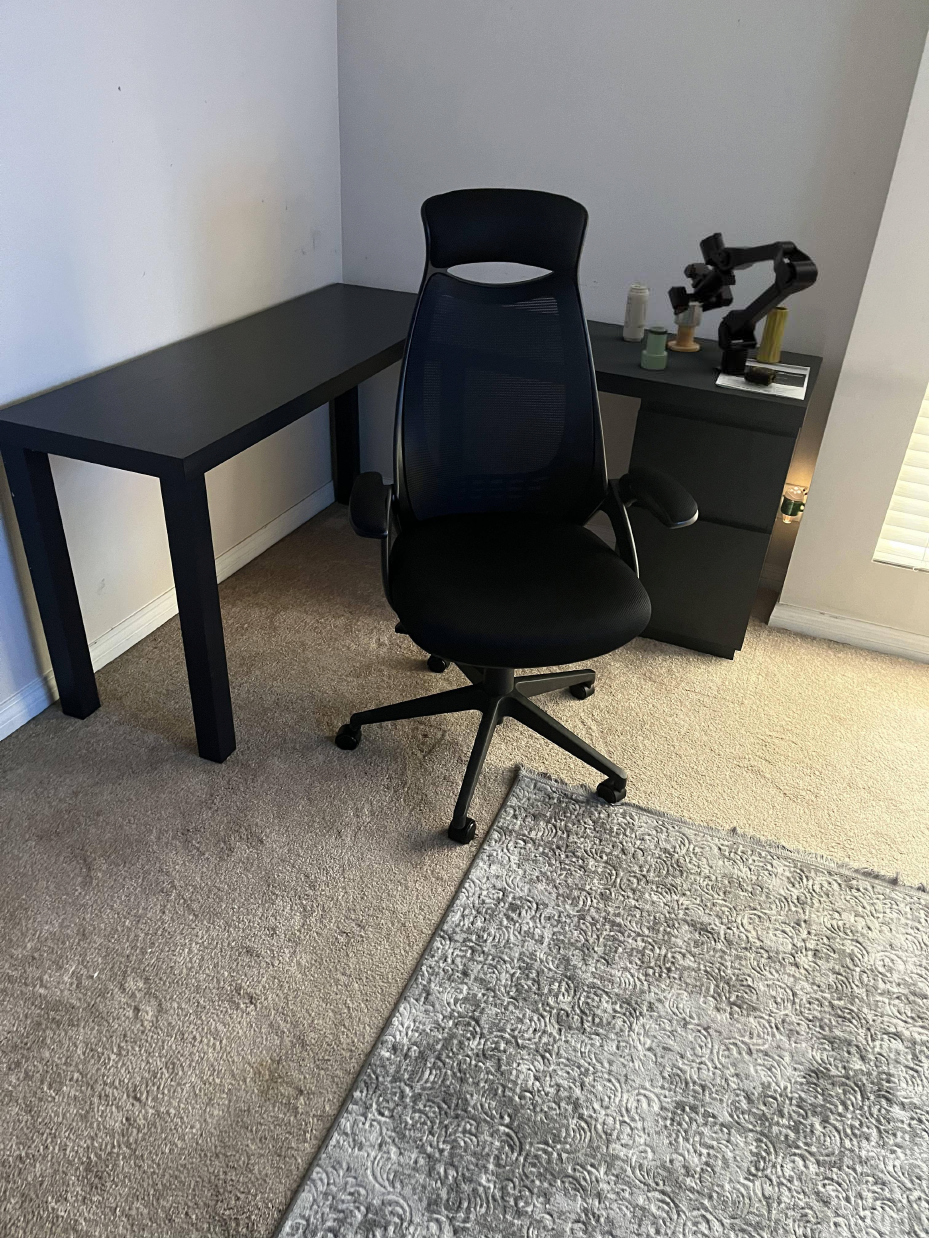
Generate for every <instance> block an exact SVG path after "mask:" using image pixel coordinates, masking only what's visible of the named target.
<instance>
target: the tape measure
mask: <svg viewBox="0 0 929 1238" xmlns="http://www.w3.org/2000/svg"><path fill="white" fill-rule="evenodd" d="M743 375H744V376H743V379H744V381H745V382H746V383H750V384H752V385H754V386H763V387H769V386H770V385H772V384H773V383H774V381H775V380H776V378H777V374H776V373H775V370H774V369H773V368H770V367H766V366H751V367H749V369H748V370H747V372H746V373H745V374H743Z"/></svg>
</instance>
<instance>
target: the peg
mask: <svg viewBox="0 0 929 1238" xmlns="http://www.w3.org/2000/svg"><path fill="white" fill-rule="evenodd" d="M695 332H696V327H686V326H680V325H677V331H676V337H675V338H676V339H675V340H671V341H669V342H668V343H667V348H668V349H669V350H672V351H675V352H684V353H694V352H697V351H699V350H700V348H701V347H700V344H698V343H696V342H694V339H695Z"/></svg>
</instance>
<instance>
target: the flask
mask: <svg viewBox="0 0 929 1238" xmlns="http://www.w3.org/2000/svg"><path fill="white" fill-rule="evenodd" d="M667 335H668V328H666V327H664V326H650V327H649V328H648V333H647V342H646V348H645V349H644V350H642V353H641V360H640V367H641V368H643V369H646V370H650V371H661V370H664V369H666V366H667V359H668V351H665V350H666V342H667Z"/></svg>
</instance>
